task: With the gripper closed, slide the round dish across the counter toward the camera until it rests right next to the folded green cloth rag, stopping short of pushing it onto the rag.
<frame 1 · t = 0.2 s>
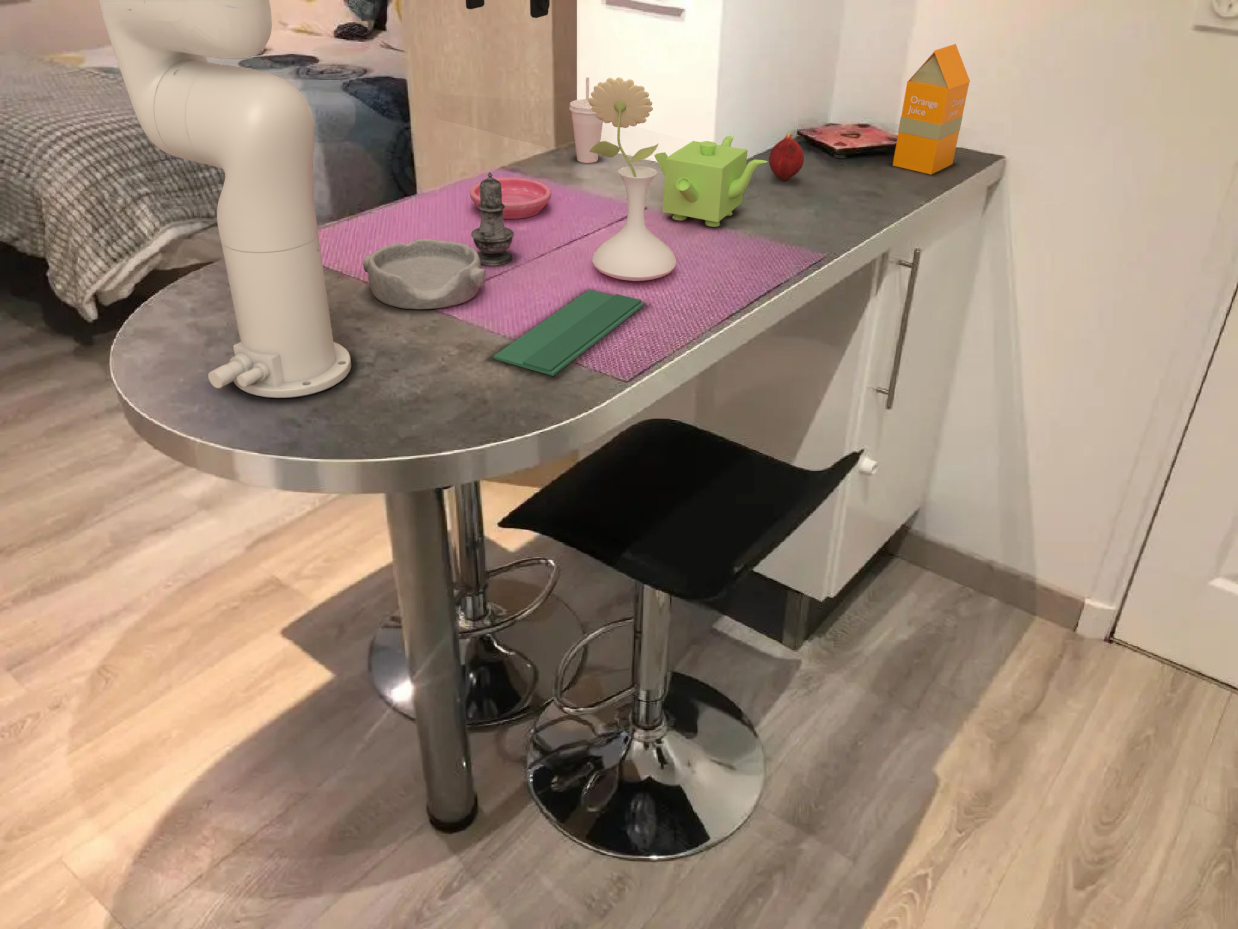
hand: (506, 11, 128), 31 cm above the breakfast bar, tool pointing down, fingers open, 9 cm apart
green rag: (572, 330, 123), on the breakfast bar
salt shaker: (493, 259, 141), on the breakfast bar
kettle: (706, 216, 158), on the breakfast bar
smoothie: (587, 160, 181), on the breakfast bar
flower in vase: (628, 272, 139), on the breakfast bar
saucer: (511, 210, 158), on the breakfast bar
orange juice: (922, 165, 184), on the breakfast bar
onion: (783, 182, 174), on the breakfast bar
dish: (425, 292, 131), on the breakfast bar
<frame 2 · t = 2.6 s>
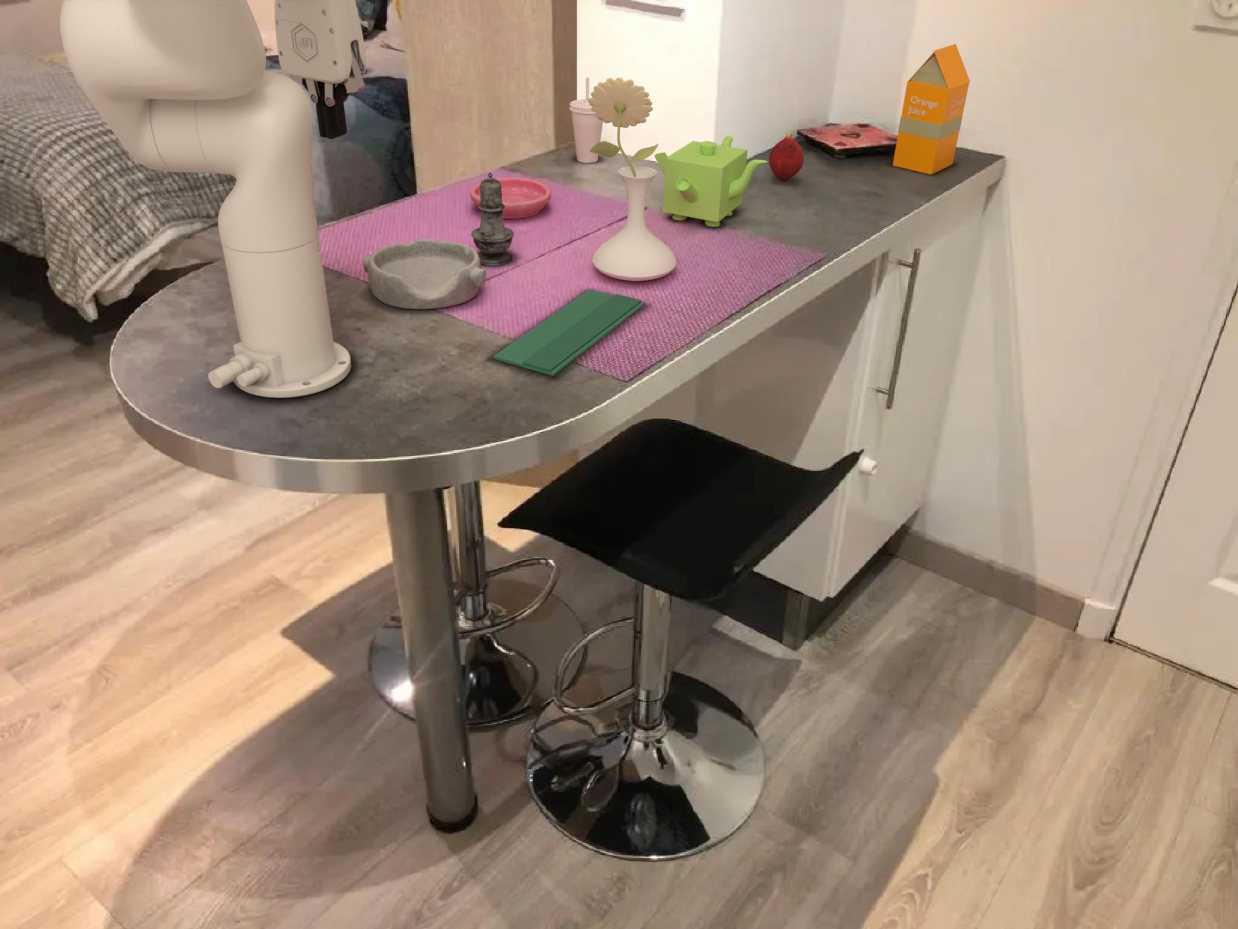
hand: (333, 135, 126), 18 cm above the breakfast bar, tool pointing down, fingers closed
nothing on the breakfast bar moved.
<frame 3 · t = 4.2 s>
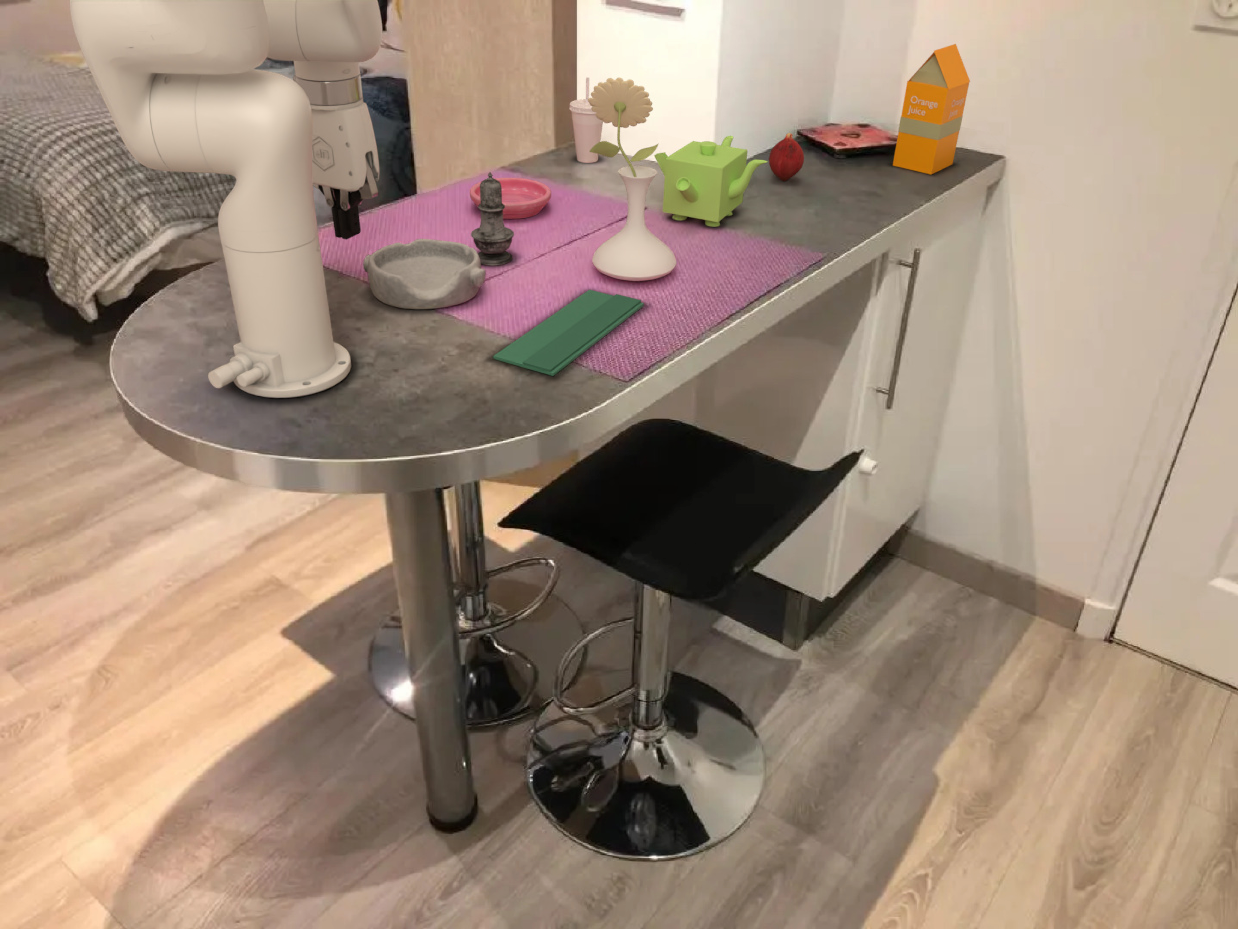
hand: (348, 234, 133), 5 cm above the breakfast bar, tool pointing down, fingers closed
nothing on the breakfast bar moved.
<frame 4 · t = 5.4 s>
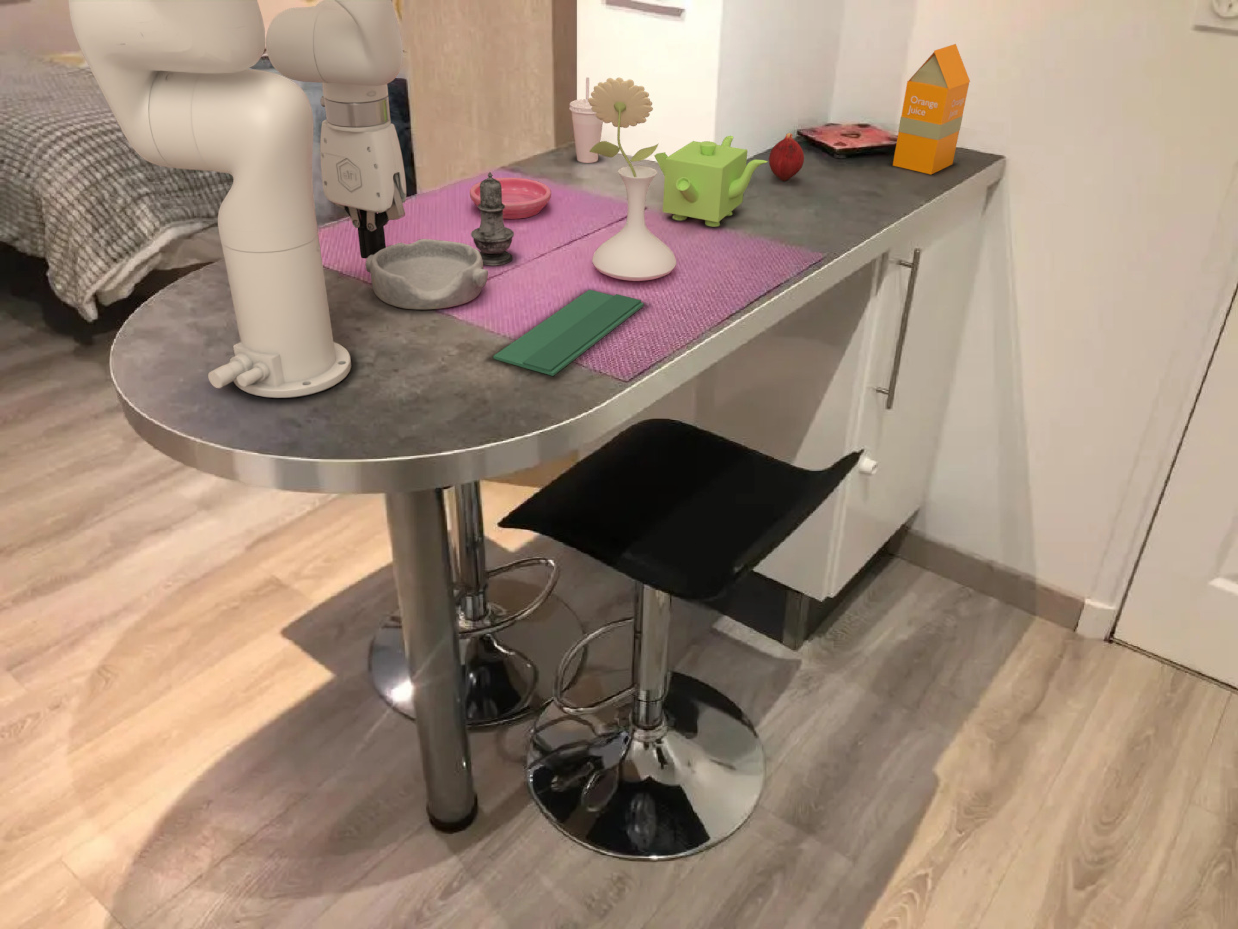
hand: (373, 255, 132), 3 cm above the breakfast bar, tool pointing down, fingers closed
dish: (428, 293, 131), on the breakfast bar, touching gripper
everything else where it was.
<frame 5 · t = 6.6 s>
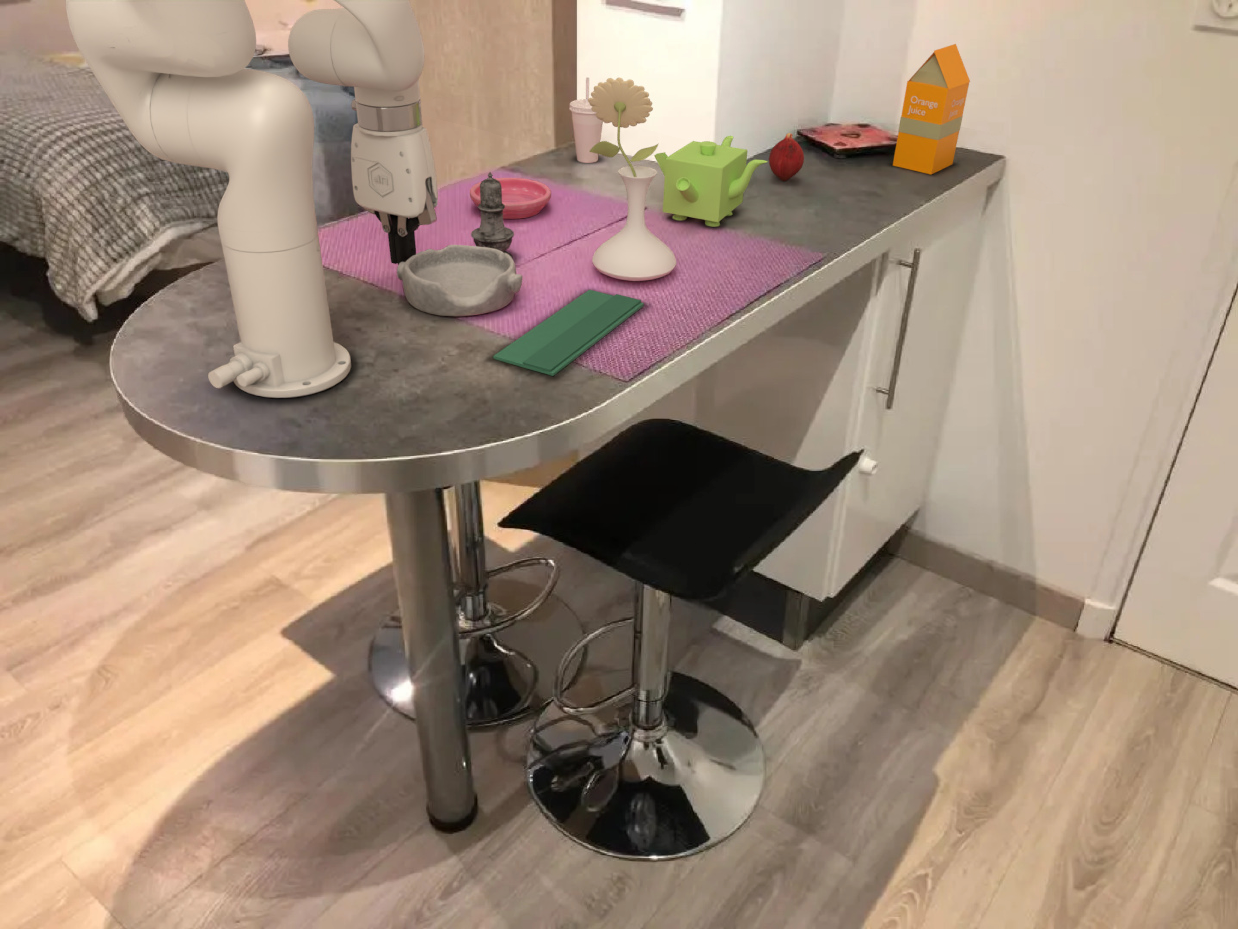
hand: (403, 260, 131), 3 cm above the breakfast bar, tool pointing down, fingers closed
dish: (459, 299, 130), on the breakfast bar, touching gripper
everything else where it was.
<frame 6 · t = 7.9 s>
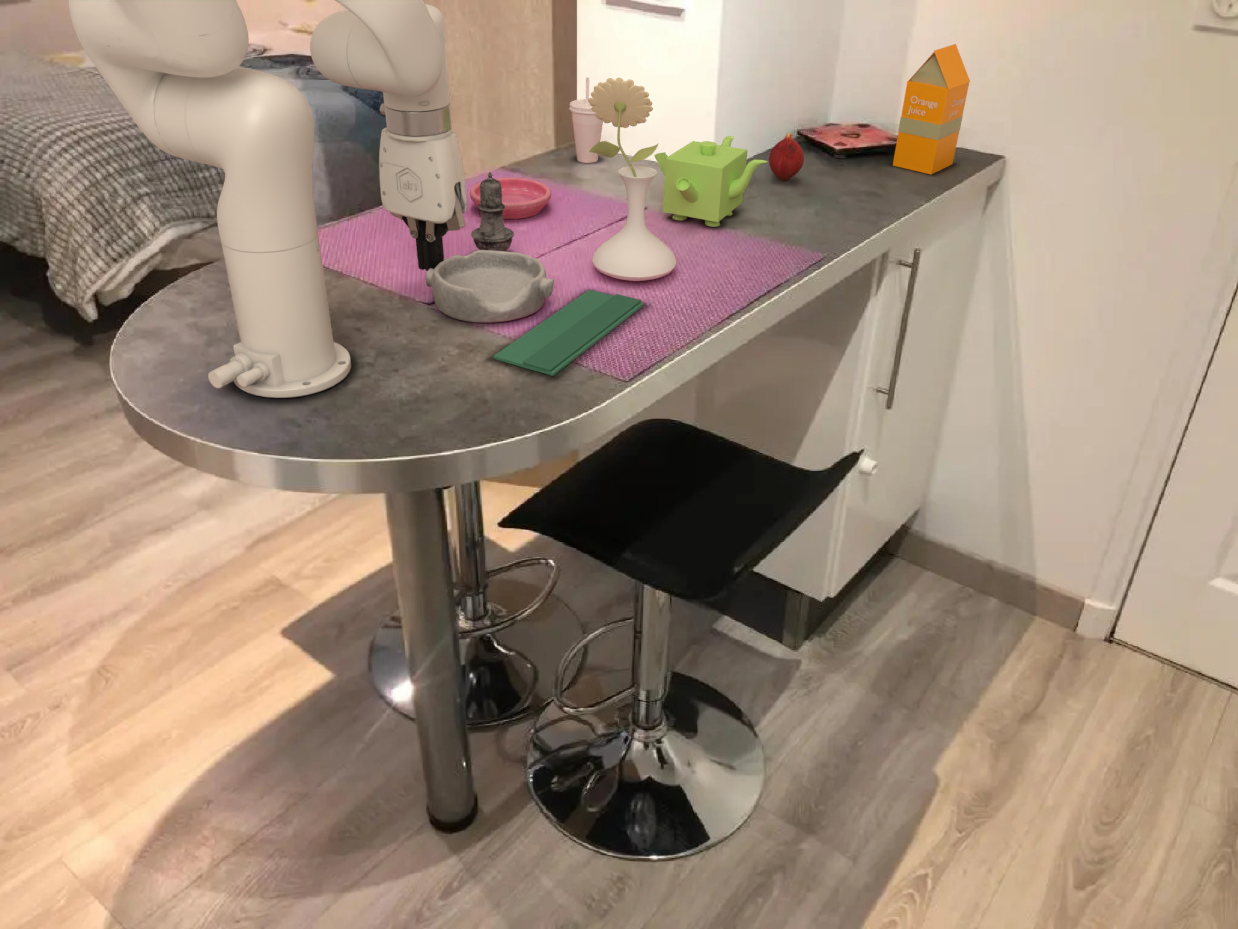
hand: (431, 266, 129), 3 cm above the breakfast bar, tool pointing down, fingers closed
dish: (489, 305, 128), on the breakfast bar, touching gripper
everything else where it was.
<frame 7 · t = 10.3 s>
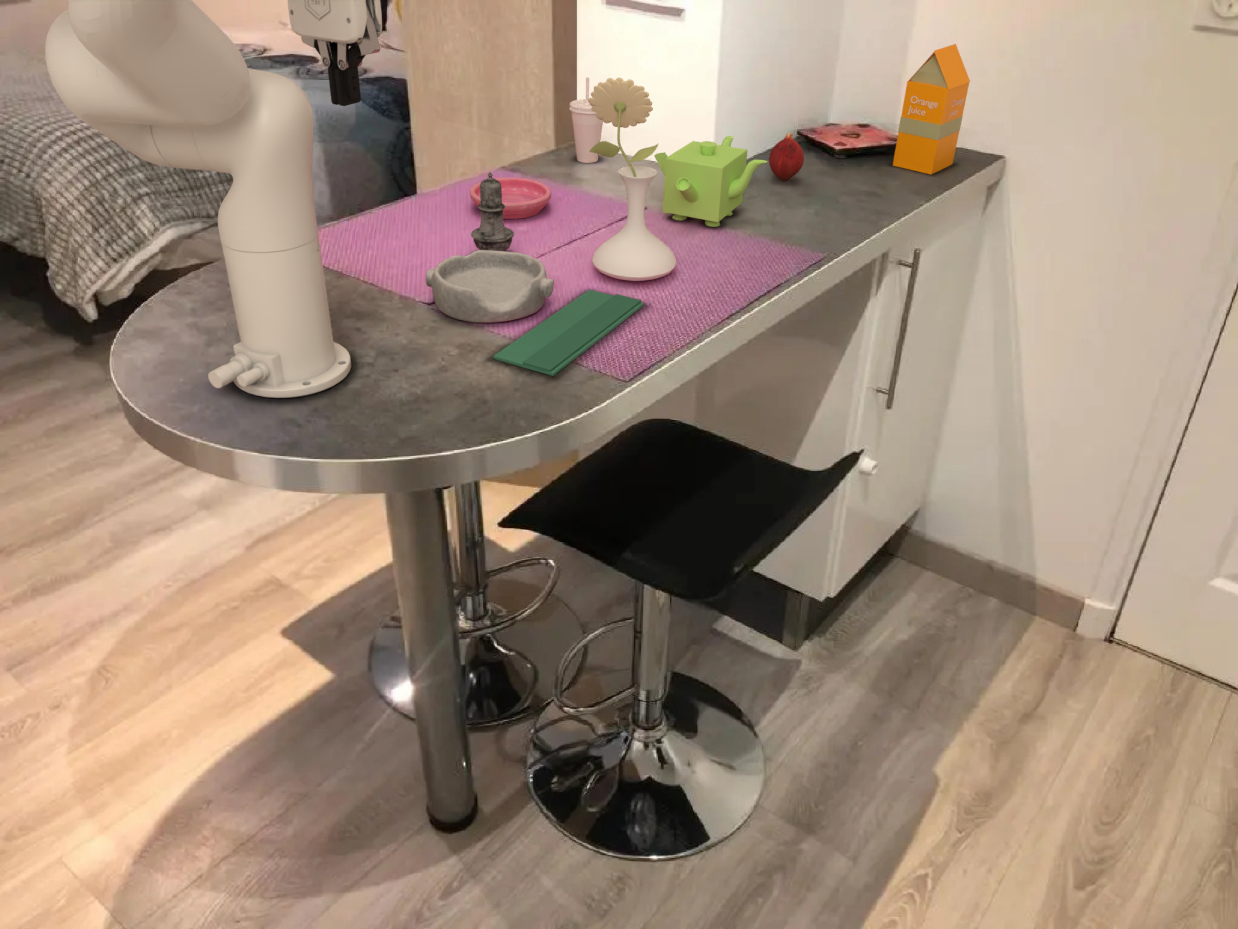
hand: (346, 102, 118), 23 cm above the breakfast bar, tool pointing down, fingers closed
dish: (489, 305, 128), on the breakfast bar
everything else where it was.
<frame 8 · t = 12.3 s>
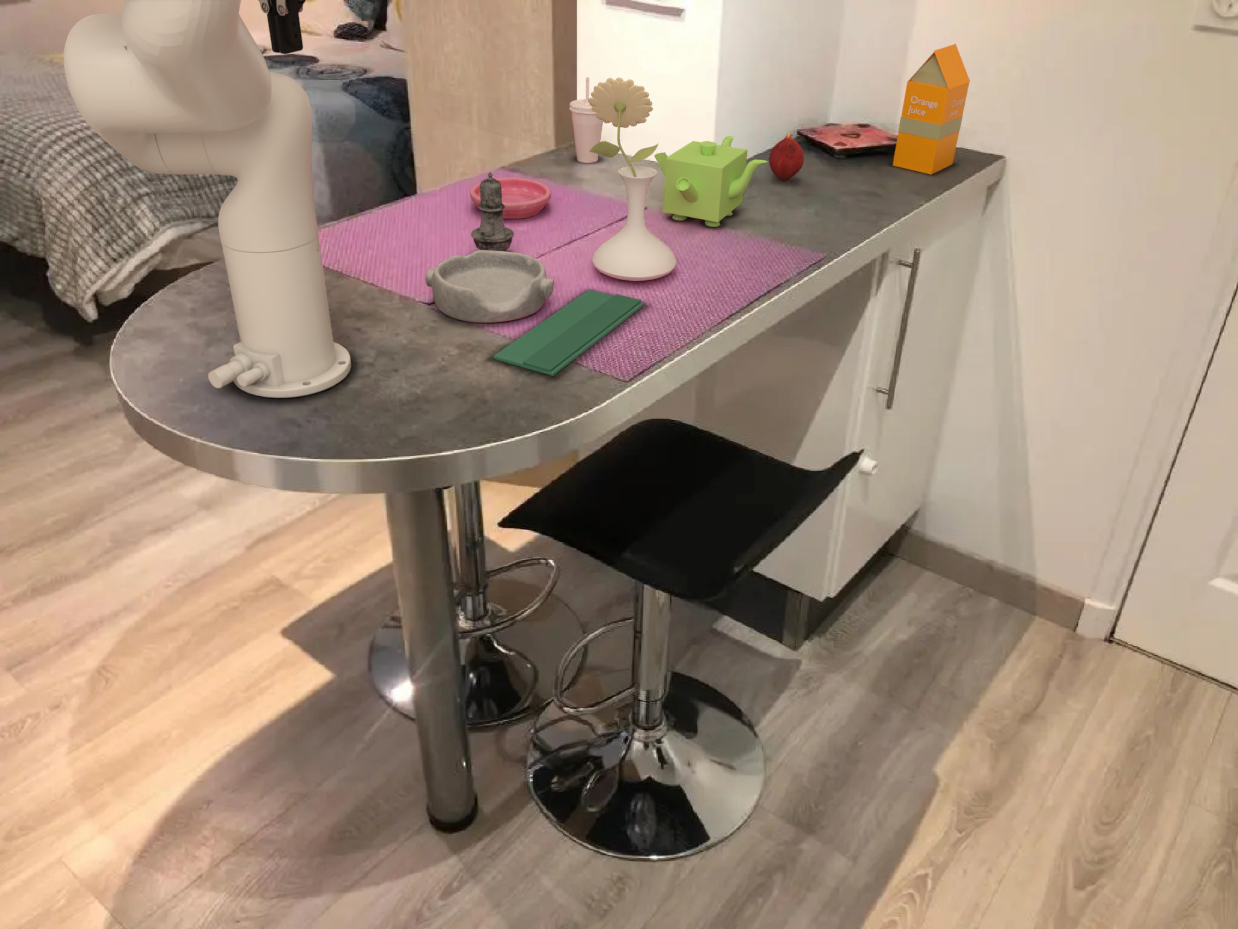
hand: (288, 50, 114), 29 cm above the breakfast bar, tool pointing down, fingers closed
nothing on the breakfast bar moved.
at the end: dish inside the target area on the breakfast bar beside the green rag (1.6 cm from its centre), on the breakfast bar; dish touching breakfast bar; dish moved 9.2 cm from its start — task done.
